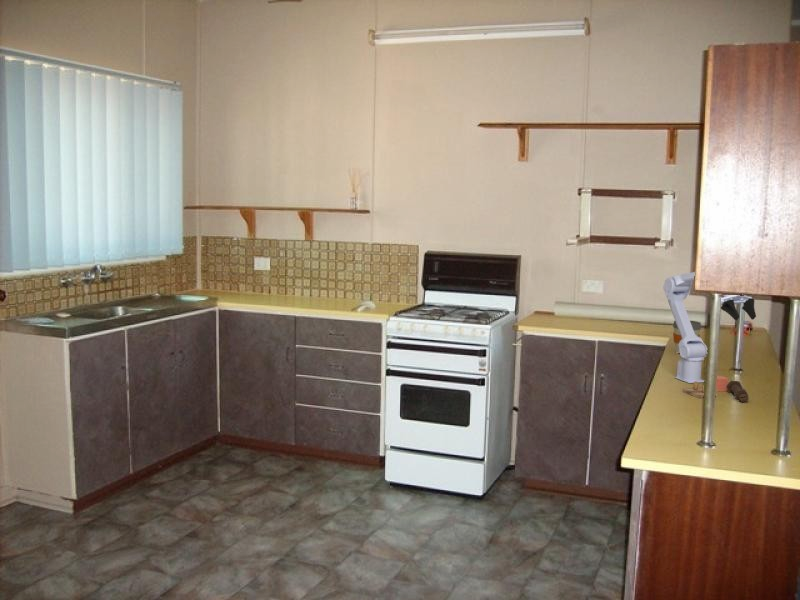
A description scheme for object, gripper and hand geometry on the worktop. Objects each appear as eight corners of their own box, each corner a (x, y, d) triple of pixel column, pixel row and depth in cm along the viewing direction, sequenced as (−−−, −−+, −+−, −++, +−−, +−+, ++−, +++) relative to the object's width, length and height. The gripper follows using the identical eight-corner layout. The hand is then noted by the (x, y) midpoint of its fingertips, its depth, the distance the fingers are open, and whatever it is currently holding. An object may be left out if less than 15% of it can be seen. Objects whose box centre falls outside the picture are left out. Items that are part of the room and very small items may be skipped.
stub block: (682, 391, 307) (683, 381, 306) (699, 390, 310) (700, 379, 309) (699, 398, 298) (700, 387, 297) (717, 397, 300) (718, 386, 300)
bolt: (740, 408, 293) (730, 396, 307) (754, 402, 292) (743, 390, 306) (734, 394, 292) (724, 383, 307) (747, 388, 291) (736, 377, 306)
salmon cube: (709, 388, 313) (710, 376, 312) (719, 388, 314) (720, 375, 313) (717, 391, 308) (718, 379, 307) (727, 390, 310) (728, 378, 309)
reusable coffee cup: (703, 355, 374) (705, 324, 372) (677, 355, 374) (679, 324, 372) (692, 350, 387) (694, 320, 385) (667, 350, 386) (669, 319, 384)
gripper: (719, 283, 297) (735, 312, 289) (750, 282, 302) (767, 311, 294) (709, 295, 303) (725, 323, 295) (740, 294, 307) (756, 322, 299)
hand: (745, 318), depth 295 cm, fingers open, 7 cm apart
